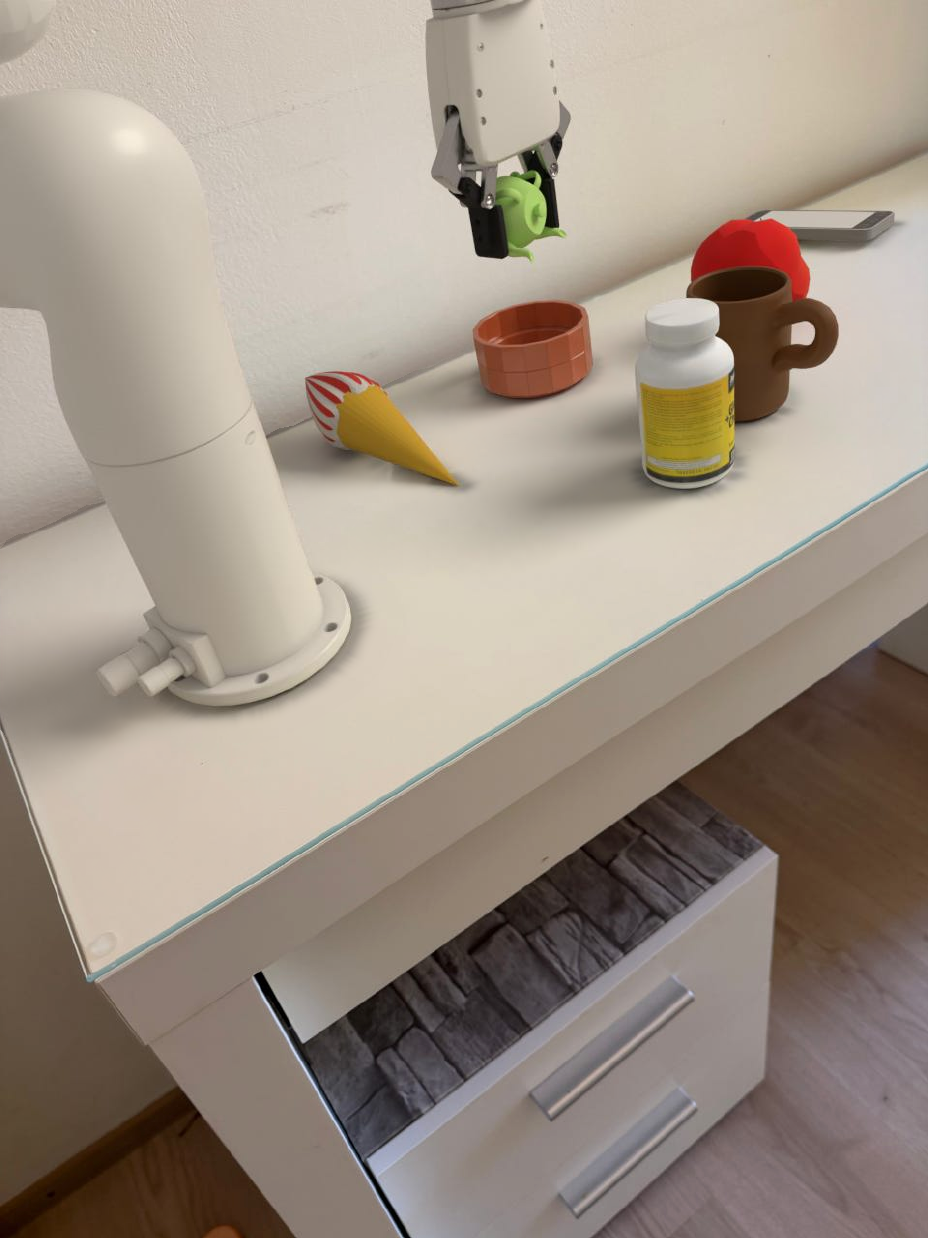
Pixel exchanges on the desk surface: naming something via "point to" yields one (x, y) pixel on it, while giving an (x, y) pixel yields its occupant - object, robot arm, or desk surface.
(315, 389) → the ice cream cone
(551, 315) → the bowl
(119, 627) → the desk surface
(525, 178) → the multi-spout teapot
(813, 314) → the mug
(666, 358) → the pill bottle
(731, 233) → the tomato
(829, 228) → the smartphone
